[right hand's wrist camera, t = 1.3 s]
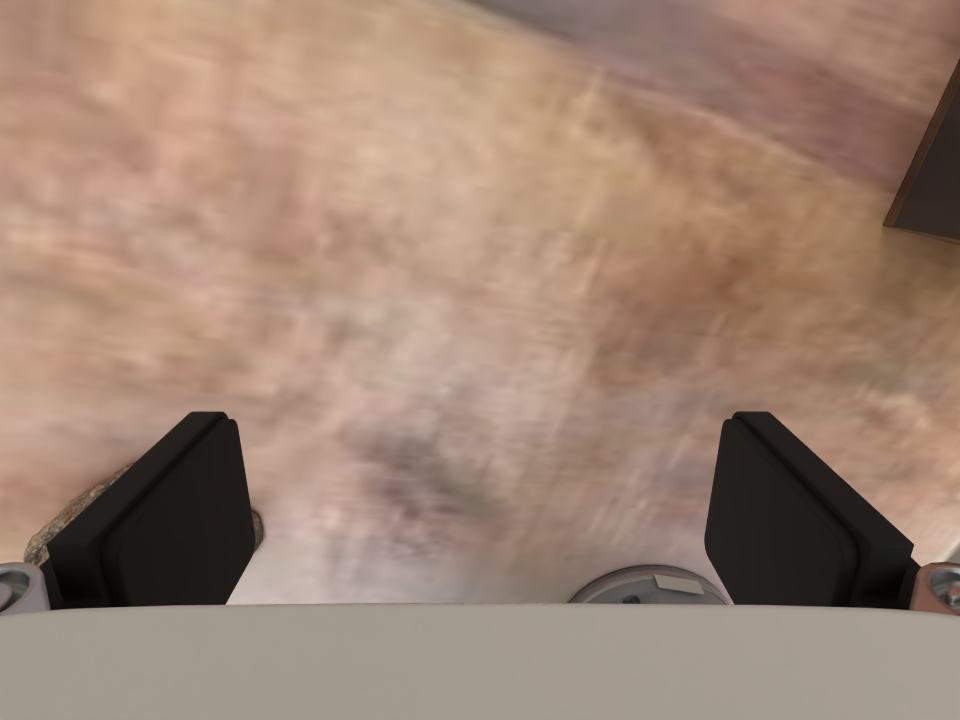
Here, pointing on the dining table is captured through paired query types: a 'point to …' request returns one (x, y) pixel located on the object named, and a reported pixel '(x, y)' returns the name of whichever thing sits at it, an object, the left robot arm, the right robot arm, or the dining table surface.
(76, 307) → the dining table surface
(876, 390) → the dining table surface
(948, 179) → the cabinet
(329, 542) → the dining table surface
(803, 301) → the dining table surface
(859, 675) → the right robot arm
